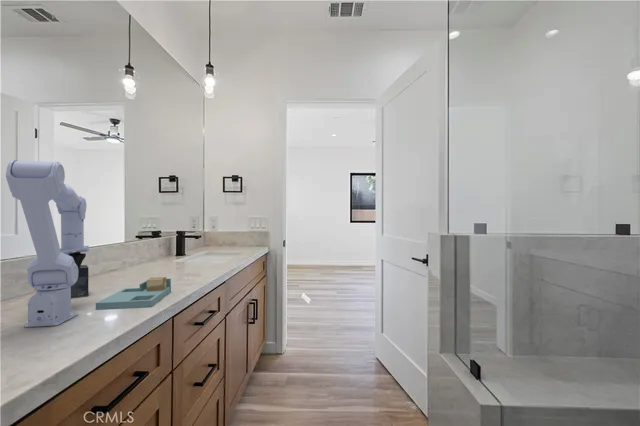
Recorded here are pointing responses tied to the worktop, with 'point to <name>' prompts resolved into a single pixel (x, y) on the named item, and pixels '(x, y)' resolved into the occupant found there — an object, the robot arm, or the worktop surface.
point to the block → (156, 284)
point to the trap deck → (134, 297)
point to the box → (81, 283)
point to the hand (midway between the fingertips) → (72, 276)
